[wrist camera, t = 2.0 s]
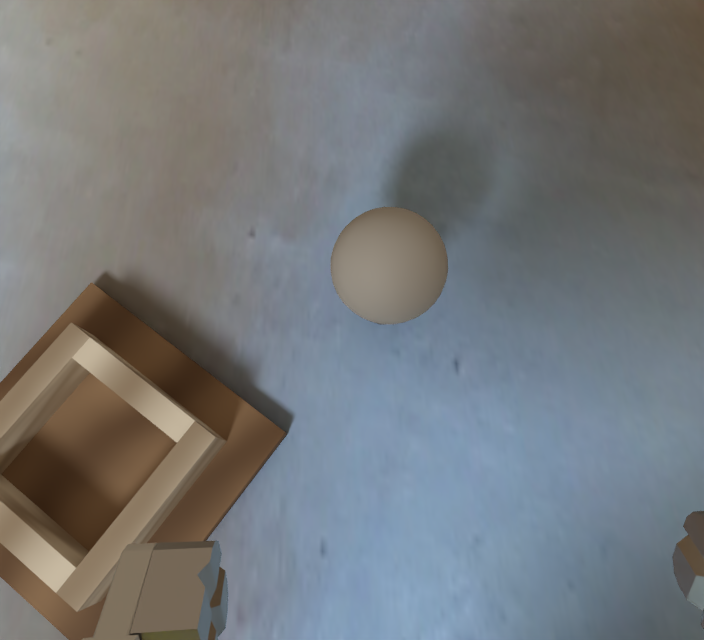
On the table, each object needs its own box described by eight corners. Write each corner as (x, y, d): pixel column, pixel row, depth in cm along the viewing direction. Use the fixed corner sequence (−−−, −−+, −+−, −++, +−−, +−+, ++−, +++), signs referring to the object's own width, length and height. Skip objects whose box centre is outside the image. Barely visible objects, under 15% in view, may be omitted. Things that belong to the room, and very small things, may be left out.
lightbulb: (425, 360, 38) (452, 311, 28) (330, 349, 38) (320, 297, 28) (433, 270, 40) (460, 192, 29) (341, 260, 40) (336, 179, 29)
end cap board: (287, 433, 37) (279, 428, 33) (110, 665, 34) (78, 689, 30) (97, 287, 40) (69, 265, 36) (-84, 488, 36) (-136, 488, 32)
